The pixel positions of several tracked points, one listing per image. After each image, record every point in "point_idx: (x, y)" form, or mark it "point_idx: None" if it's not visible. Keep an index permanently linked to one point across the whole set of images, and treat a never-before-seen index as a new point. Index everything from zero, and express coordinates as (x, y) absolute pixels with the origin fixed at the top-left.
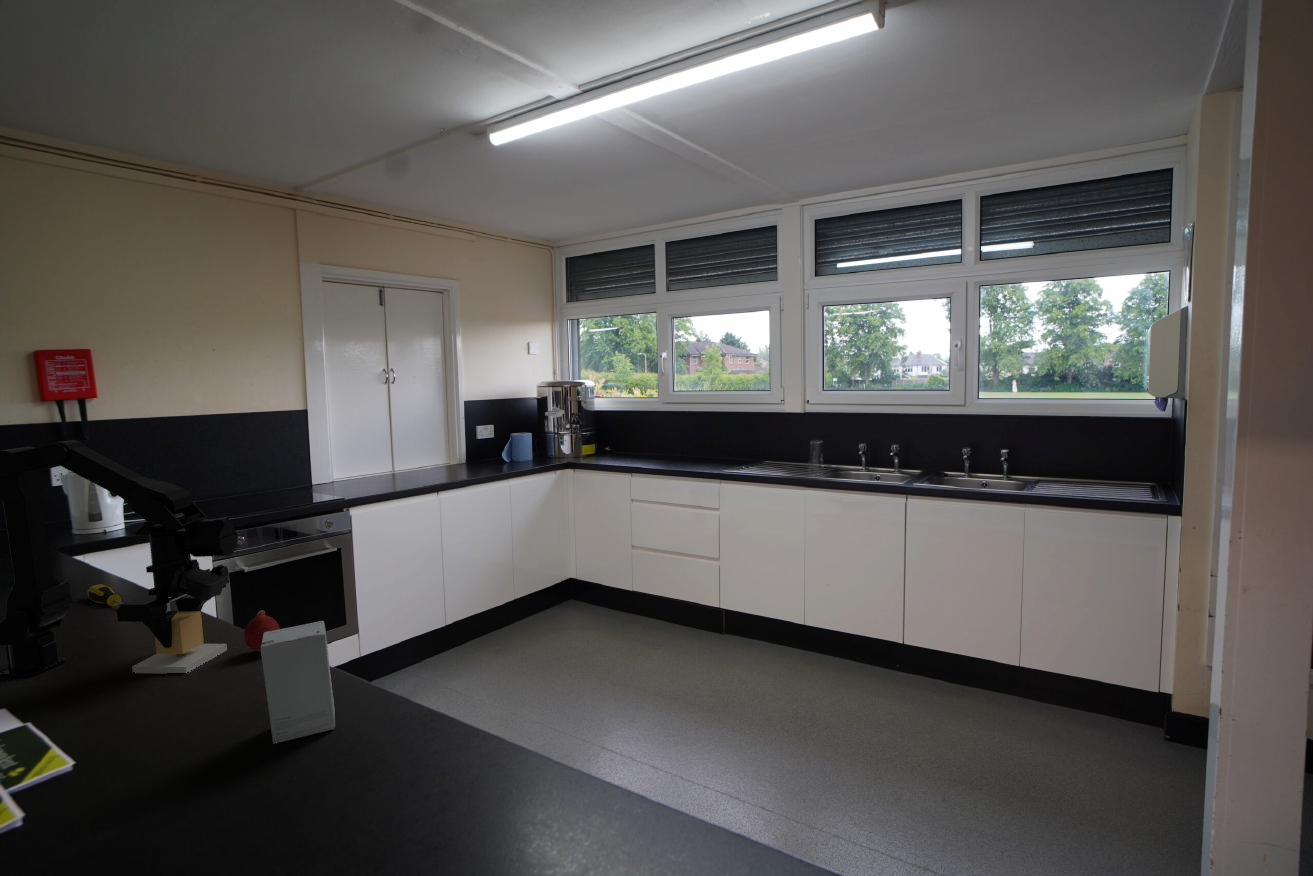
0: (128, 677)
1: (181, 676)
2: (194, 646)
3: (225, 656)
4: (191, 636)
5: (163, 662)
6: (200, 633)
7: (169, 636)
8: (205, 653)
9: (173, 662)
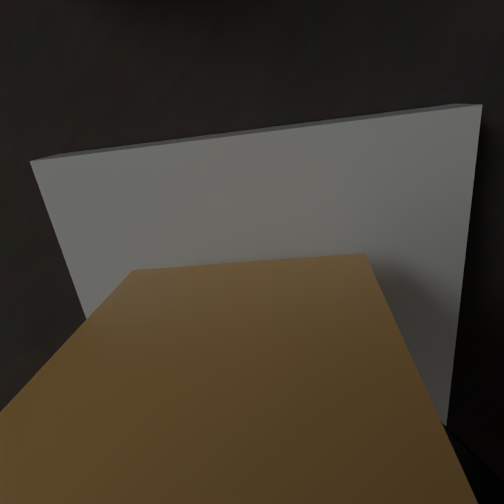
0: (481, 408)
1: (498, 106)
2: (228, 268)
3: (138, 69)
4: (236, 324)
5: None
6: (113, 321)
7: (466, 475)
8: (211, 175)
9: (385, 279)
